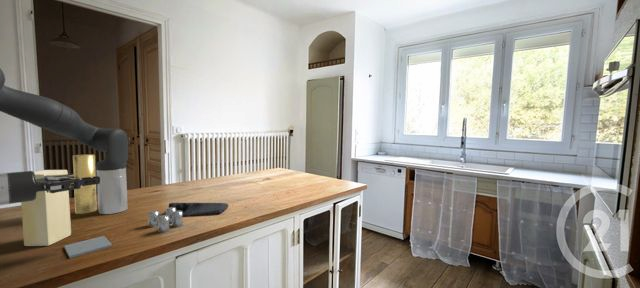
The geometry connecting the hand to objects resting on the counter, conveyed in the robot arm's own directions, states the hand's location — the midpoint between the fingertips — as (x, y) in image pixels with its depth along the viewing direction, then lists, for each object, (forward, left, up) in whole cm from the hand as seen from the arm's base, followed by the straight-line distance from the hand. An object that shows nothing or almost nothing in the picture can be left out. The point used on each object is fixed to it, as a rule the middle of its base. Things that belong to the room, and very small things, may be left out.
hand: (97, 178), depth 76 cm
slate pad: (0, -3, -20) cm, 20 cm away
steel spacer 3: (-3, +21, -20) cm, 29 cm away
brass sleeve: (0, -3, -9) cm, 9 cm away
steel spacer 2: (+4, +16, -20) cm, 26 cm away
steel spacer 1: (-3, +15, -20) cm, 25 cm away
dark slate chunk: (-7, +33, -20) cm, 40 cm away
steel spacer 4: (+3, +21, -20) cm, 29 cm away
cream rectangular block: (-14, -10, -20) cm, 26 cm away
